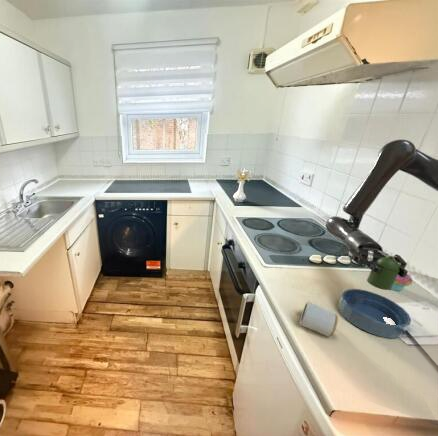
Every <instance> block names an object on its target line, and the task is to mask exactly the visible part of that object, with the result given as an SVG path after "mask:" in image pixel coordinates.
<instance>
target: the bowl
mask: <svg viewBox="0 0 438 436" xmlns="http://www.w3.org/2000/svg"><path fill="white" fill-rule="evenodd" d="M337 309H338V311H339V312H340V314H341V315H342V317H343V318H345V319H346V320H347V321H348V322H349V323H351V324H352V325H354V326H355V327H357V328H359V329H361V330H363V331H364V332H367V333H369V334H373V335H375V336H378V337H382V338H387V339H399V338H400V337H402V336H404V335H405V333H406V332H407V330H408V328H409V326H410V324H411V322H412V318H411V316H410V313H408V312H407V311H406V310H405V309H404V307H402V306H401V305H399V304H398V303H397V302H395V301H393V300H391V299H390V298H388V297H385V296H383V295H381V294H378V293H376V292H373V291H369V290H365V289H359V288H349V289H345V290H344V291H343V292H342V293H341V295H340V298H339V300H338V303H337ZM383 317H387V318H391V319H392V320H393V321H394V322H395V324H396V325H390V324H386V322H385V321H384V319H383Z"/></svg>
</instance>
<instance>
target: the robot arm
mask: <svg viewBox="0 0 438 436" xmlns="http://www.w3.org/2000/svg"><path fill="white" fill-rule="evenodd" d="M399 171H400V172H403V173H406V174H407V175H410V176H412V177H413V178H416V179H418V180H419V181H421V182H422V183H423V184H425V185H426V186H428V187H430V188H431V189H433V190H435V191H436V192H438V159H437V158H435V157H432V156H430V155H429V154H427V153H424V152H423V151H421V150H419V149H418V148H417V147H416V145H415V144H414V143H413V141H410V140H408V139H395V140H392V141H389V142H386V143H385V144H384V145H383V146H382V147H381V148H380V149H379V151H378V154H377V158H376V161H375V162H374V164H373V167H372V168H371V169H370V171H369V173H368V174H367V176H366V177H365V179H364V180H363V181H362V182H361V183H360V184H359V185H358V187H357V188H356V189H355V191H354V192H353V193H352V194H351V195H350V197H349V199H348V200H347V201H346V202H345V204H344V206H343V207H342V211H343V212H344V213H345V214H347V215H349V218H348V219H347V218H343V217H341V216H331V217H329V218H328V219H327V220H326V221H325V228H326V230H327V232H329V233H330V234H331V235H333V236H334V237H336V238H337V239H339V240H341V242H342V243H343V244H344V245H345V246H346V248H347V249H348V253H347V257H348V258H349V259H351V260H352V261H353V262H355V263H356V264H357V265H359V266H365V268H368V269H369V270H370V271H371V270H372V271H373V272H374V273H376V274H379V273H380V271H381V267H380V266H378V265H377V264H376V263H375V262H377V260H378V259H380V258H382V257H390V256H391V255H389V254H388V253H387V252H385V251H384V250H383V247H382V245H380V244H379V243H378V242H377V241H376V240H375V239H373V238H372V237H371V236H370V235H368V234H366V233H365V232H363V231H362V230H361V229H360V225H361V223H362V220H363V217H364V215H365V214H366V212H367V211H368V210H369V209H370V207H371V206H372V204H373V203H374V202H375V201H376V199H377V198H378V196H379V195H380V193H381V192H382V190H383V189H384V188H385V186H386V185H387V184H388V182H389V181H390V180H391V179H392V178H393V177H394V176H395V175H396V174H397V173H398V172H399ZM392 256H393V259H395V260H396V261H397V262H398V263H399V266H400V267H399V269H400V271H399V273H398V275H399V276H400V277H405V276H406V275H407V274H408V270H407V269H406V267H407V265H408V263H407V262H406V261H405V259H404V258H403V257H402V256H401V255H399V254H394V255H392Z"/></svg>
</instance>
